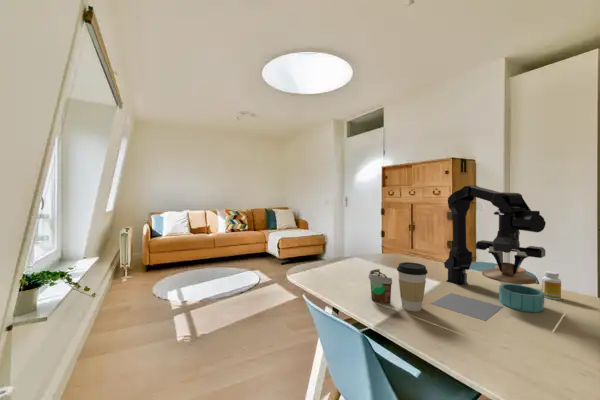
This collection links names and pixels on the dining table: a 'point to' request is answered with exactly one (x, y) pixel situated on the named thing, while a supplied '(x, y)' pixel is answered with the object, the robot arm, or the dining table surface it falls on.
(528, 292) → the bowl
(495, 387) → the dining table surface
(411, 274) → the coffee cup
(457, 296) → the mat
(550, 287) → the supplement bottle
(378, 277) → the food container
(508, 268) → the lid
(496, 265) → the lidded jar
